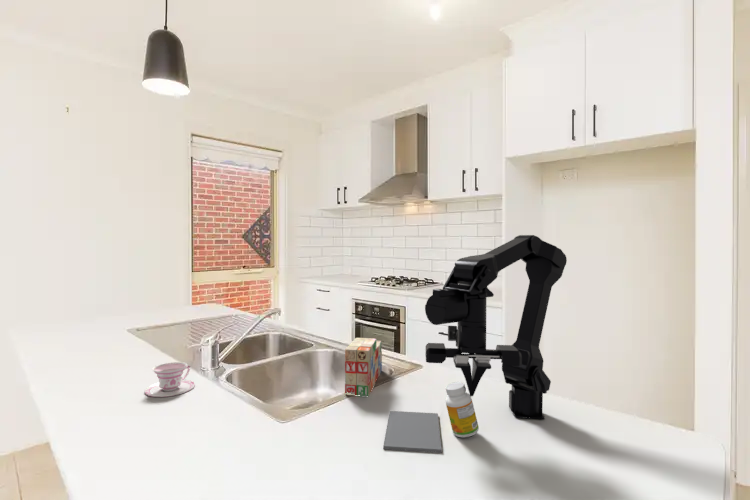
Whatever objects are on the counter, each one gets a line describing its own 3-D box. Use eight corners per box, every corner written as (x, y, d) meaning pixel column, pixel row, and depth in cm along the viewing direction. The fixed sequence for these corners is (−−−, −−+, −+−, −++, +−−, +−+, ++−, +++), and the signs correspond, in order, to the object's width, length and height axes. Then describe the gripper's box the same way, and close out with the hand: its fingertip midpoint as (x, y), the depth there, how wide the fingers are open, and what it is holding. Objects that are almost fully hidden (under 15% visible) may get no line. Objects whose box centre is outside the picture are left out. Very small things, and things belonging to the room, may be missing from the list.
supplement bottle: (450, 429, 86) (439, 384, 86) (474, 422, 86) (463, 378, 86) (457, 440, 80) (445, 393, 80) (482, 433, 81) (471, 386, 81)
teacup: (150, 402, 99) (150, 377, 99) (140, 388, 108) (139, 365, 108) (201, 390, 107) (201, 367, 107) (187, 378, 116) (187, 357, 116)
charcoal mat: (437, 415, 92) (437, 413, 92) (441, 452, 76) (441, 449, 76) (389, 413, 93) (389, 410, 93) (383, 449, 77) (383, 445, 77)
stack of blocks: (362, 369, 125) (362, 330, 125) (382, 371, 124) (382, 331, 123) (344, 396, 104) (344, 348, 103) (368, 397, 103) (368, 349, 102)
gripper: (509, 314, 90) (509, 384, 90) (425, 312, 92) (424, 380, 92) (522, 323, 79) (522, 403, 79) (426, 321, 81) (425, 399, 81)
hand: (471, 395), depth 83 cm, fingers closed
